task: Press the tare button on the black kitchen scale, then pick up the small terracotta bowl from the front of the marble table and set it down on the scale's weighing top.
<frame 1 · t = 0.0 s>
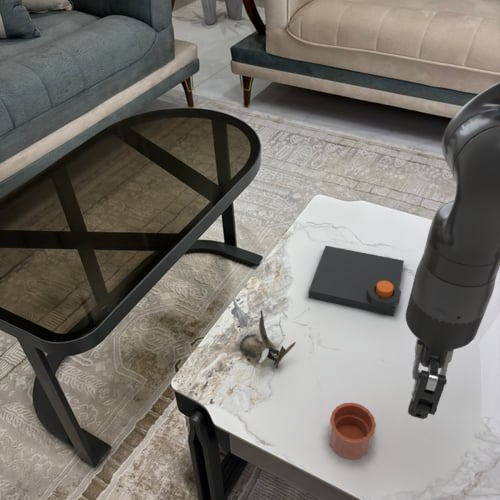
hand: (420, 385, 63), 15 cm above the table, tool pointing down, fingers open, 8 cm apart
bowl: (349, 440, 73), on the table
tare button: (384, 289, 91), point 4 cm above the table, slide at 0.1 cm
eagle figurine: (264, 352, 86), on the table
scale: (356, 282, 99), on the table
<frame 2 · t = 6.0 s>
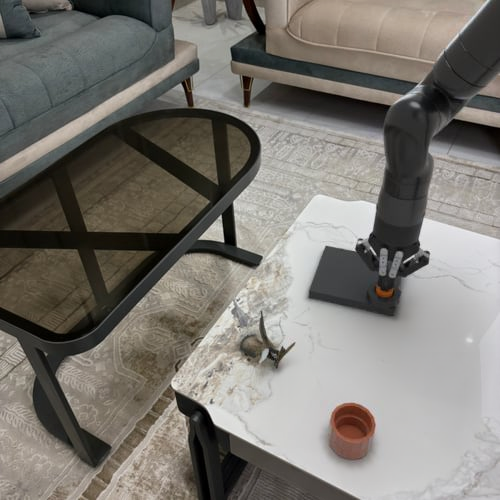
hand: (384, 287, 91), 4 cm above the table, tool pointing down, fingers closed
tare button: (384, 291, 92), point 3 cm above the table, slide at -0.3 cm, touching gripper
everything else where it was.
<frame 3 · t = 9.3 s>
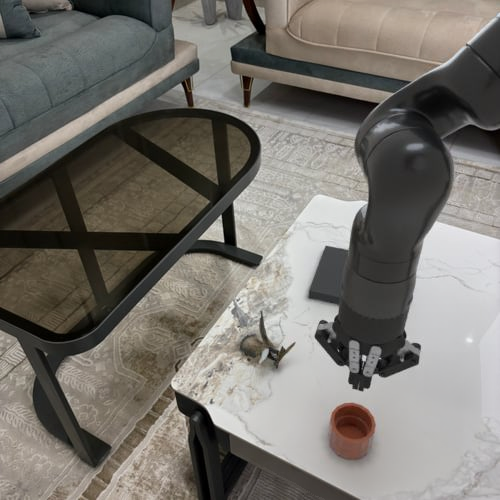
hand: (358, 384, 65), 13 cm above the table, tool pointing down, fingers closed
tare button: (384, 289, 91), point 4 cm above the table, slide at 0.1 cm
everything else where it was.
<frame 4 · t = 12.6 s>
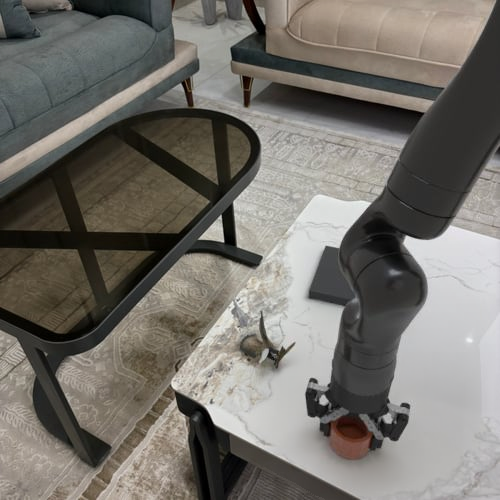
hand: (349, 437, 73), 1 cm above the table, tool pointing down, fingers closed on bowl, 6 cm apart
bowl: (349, 440, 73), on the table, touching gripper
everything else where it was.
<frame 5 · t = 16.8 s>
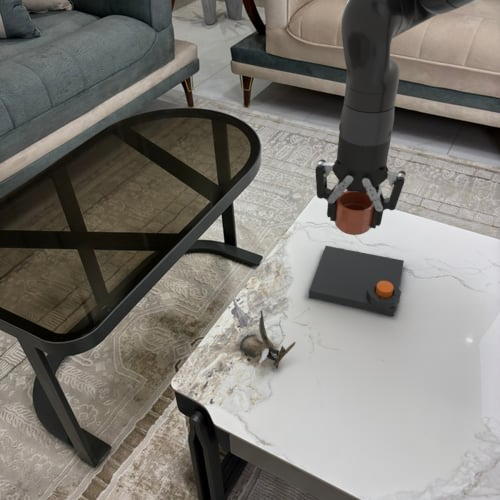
hand: (353, 221, 84), 18 cm above the table, tool pointing down, fingers closed on bowl, 6 cm apart
bowl: (353, 225, 85), point 17 cm above the table, touching gripper
everything else where it was.
when the fingers open (3 cm above the table, at t = 21.5 s): bowl stays where it is, resting on scale.
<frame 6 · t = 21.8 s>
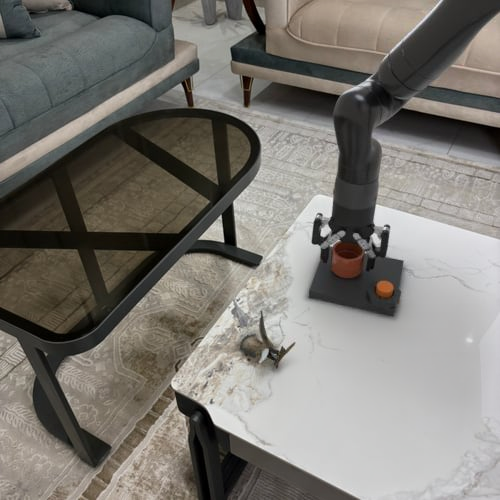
hand: (346, 264, 98), 3 cm above the table, tool pointing down, fingers open, 8 cm apart
bowl: (346, 269, 99), point 2 cm above the table, touching scale
everything else where it was.
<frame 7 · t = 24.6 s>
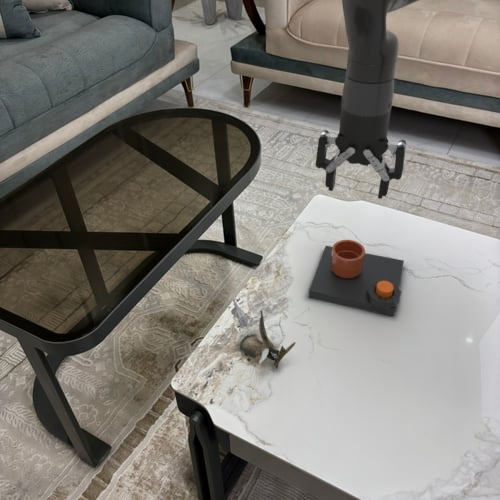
hand: (355, 192, 87), 20 cm above the table, tool pointing down, fingers open, 8 cm apart
nothing on the table moved.
at the end: tare button pushed in 0.9 cm at the most during the clip, back to where it started at the end; bowl inside the target area on the scale (2.7 cm from its centre), point 1.9 cm above the scale's base; bowl touching scale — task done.
